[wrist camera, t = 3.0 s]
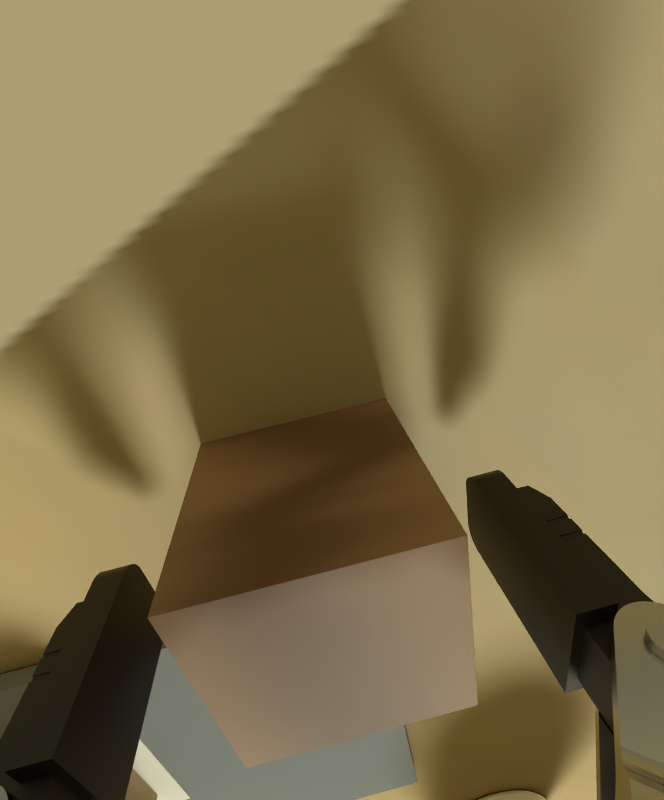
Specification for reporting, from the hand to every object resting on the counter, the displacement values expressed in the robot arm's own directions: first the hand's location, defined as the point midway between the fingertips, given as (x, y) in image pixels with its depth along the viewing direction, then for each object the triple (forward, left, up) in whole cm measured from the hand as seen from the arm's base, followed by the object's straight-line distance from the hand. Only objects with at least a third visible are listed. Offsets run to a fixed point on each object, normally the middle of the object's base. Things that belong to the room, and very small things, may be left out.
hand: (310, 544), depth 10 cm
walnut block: (0, 0, -2) cm, 2 cm away
